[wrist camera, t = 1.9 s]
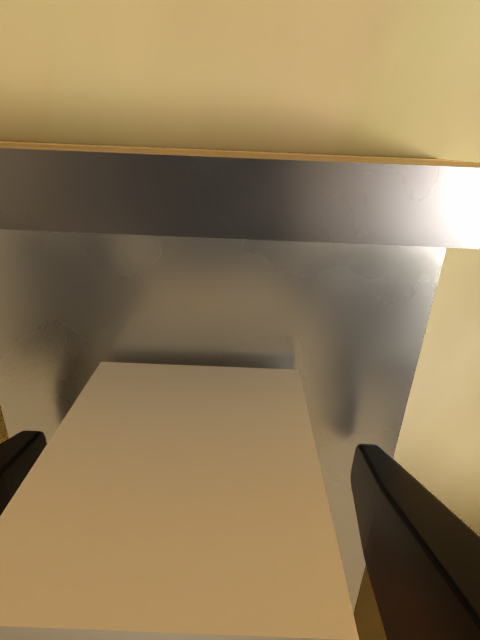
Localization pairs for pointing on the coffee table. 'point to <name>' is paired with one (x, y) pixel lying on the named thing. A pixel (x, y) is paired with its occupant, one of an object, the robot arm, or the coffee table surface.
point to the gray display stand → (228, 280)
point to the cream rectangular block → (176, 515)
